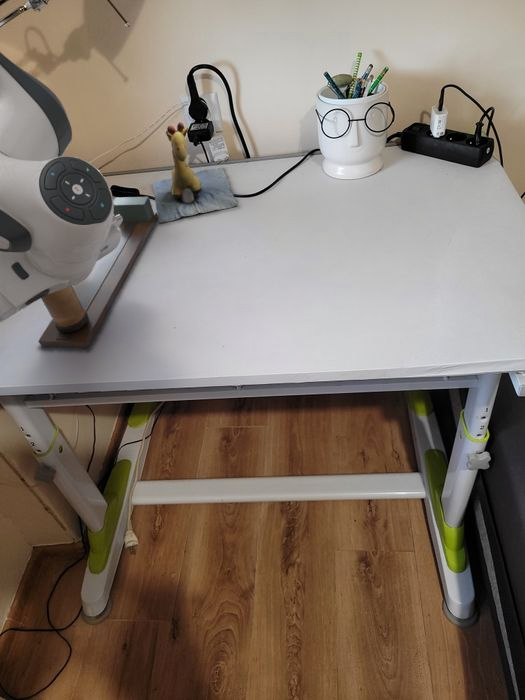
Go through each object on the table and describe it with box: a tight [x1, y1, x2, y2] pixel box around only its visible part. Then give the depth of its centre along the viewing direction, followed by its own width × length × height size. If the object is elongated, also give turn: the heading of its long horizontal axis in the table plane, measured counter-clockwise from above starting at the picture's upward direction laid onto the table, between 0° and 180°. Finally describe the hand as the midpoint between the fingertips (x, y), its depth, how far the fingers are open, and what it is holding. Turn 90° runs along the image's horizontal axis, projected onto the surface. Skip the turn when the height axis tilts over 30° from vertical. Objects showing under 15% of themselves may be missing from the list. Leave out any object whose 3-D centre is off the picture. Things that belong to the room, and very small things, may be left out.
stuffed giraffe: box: [152, 121, 238, 223], centre depth 103 cm, size 16×18×16 cm
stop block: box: [113, 196, 154, 222], centre depth 100 cm, size 3×7×5 cm, turn 81°
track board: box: [37, 211, 159, 349], centre depth 91 cm, size 37×8×1 cm, turn 171°
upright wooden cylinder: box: [40, 286, 88, 333], centre depth 75 cm, size 5×5×15 cm
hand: (50, 284), depth 75 cm, fingers open, 8 cm apart
